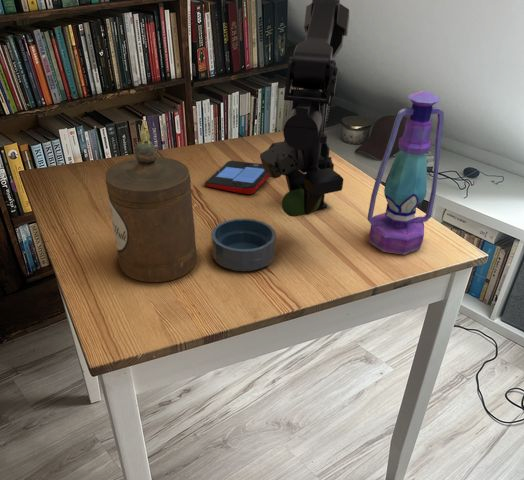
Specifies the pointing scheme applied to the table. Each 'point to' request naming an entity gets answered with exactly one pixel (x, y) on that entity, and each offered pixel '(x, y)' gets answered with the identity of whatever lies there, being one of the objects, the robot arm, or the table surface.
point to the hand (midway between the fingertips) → (300, 208)
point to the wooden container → (152, 217)
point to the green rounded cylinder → (295, 203)
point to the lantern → (407, 179)
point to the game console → (238, 177)
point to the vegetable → (144, 140)
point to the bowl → (243, 244)
